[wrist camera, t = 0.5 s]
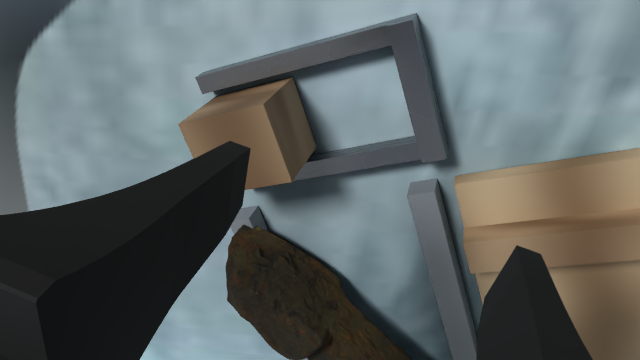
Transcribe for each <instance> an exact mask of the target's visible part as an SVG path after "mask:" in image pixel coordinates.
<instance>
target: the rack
mask: <svg viewBox="0 0 640 360" xmlns="http://www.w3.org/2000/svg"><path fill="white" fill-rule="evenodd" d="M454 187H455V191H456V195H457V199H458V204H459V208H460V212H461V216H462V220H463V225H464V237H463V246H464V250H465V254H466V258H467V262H468V266H469V270H470V274H472V273H475V275H476V279H477V283H478V287H479V291H480V296H481V300H482V304H483V302H484V297H485V296H486V294H487V293H488V291H489V289H490V288H491V286H492V284H493V283H494V281H495V280H496V278H497V276H498V275H499V273H500V271H501V270H502V268H503V267H504V265H505V263H506V262H507V260H508V258H509V257H510V255H511V254H512V252H513V250H514V249H515V247H516V245H518V246H520V247H523V248H526V249H529V250H531V251H534V252H537V253H540V254H541V255H542V257H543V260H544V262H545V264H546V266H547V268H548V271H549V273H550V275H551V278H552V280H553V282H554V284H555V287H556V289H557V291H558V293H559V295H560V298H561V300H562V302H563V304H564V306H565V308H566V310H567V312H568V314H569V316H570V318H571V320H572V323H573V324H574V326H575V328H576V330H577V332H578V334H579V336H580V338H581V340H582V342H583V343H584V345H585V347H586V349H587V350H588V352H589V354H590V356H591V357H592V359H593V360H640V148H636V149H630V150H623V151H617V152H610V153H603V154H597V155H590V156H584V157H577V158H571V159H564V160H557V161H551V162H544V163H538V164H531V165H525V166H518V167H511V168H505V169H498V170H492V171H485V172H478V173H472V174H465V175H459V176H455V181H454Z"/></svg>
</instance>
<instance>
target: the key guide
mask: <svg viewBox="0 0 640 360" xmlns="http://www.w3.org/2000/svg"><path fill="white" fill-rule="evenodd" d="M391 45H392V49H393V53H394V57H395V61H396V65H397V68H398V72H399V76H400V80H401V84H402V88H403V92H404V95H405V99H406V103H407V107H408V111H409V115H410V118H411V122H412V126H413V130H414V134H415V136H412V137H407V138H401V139H396V140H391V141H385V142H380V143H375V144H369V145H364V146H358V147H353V148H348V149H342V150H337V151H332V152H326V153H321V154H315V155H310V157H309V158H308V160H307V161H306V163H305V164H304V165H303V167H302V168H301V170H300V171H299V173H298V174H297V176H296V177H295V178H294V180H293V181H297V180H303V179H309V178H315V177H321V176H327V175H333V174H339V173H344V172H350V171H356V170H362V169H368V168H374V167H380V166H386V165H392V164H398V163H404V162H410V161H416V160H421V161H422V163H427V162H433V161H440V160H446V158H447V152H448V144H447V139H446V135H445V131H444V127H443V122H442V118H441V114H440V110H439V106H438V101H437V97H436V93H435V89H434V84H433V80H432V76H431V72H430V67H429V63H428V59H427V55H426V51H425V46H424V42H423V38H422V34H421V29H420V25H419V21H418V17H417V13H416V14H412V15H409V16H405V17H401V18H398V19H394V20H390V21H387V22H383V23H380V24H376V25H372V26H369V27H365V28H362V29H358V30H354V31H351V32H347V33H344V34H340V35H336V36H333V37H329V38H325V39H322V40H318V41H315V42H311V43H307V44H304V45H300V46H297V47H293V48H289V49H286V50H282V51H278V52H275V53H271V54H268V55H264V56H260V57H257V58H253V59H250V60H246V61H242V62H239V63H235V64H232V65H228V66H224V67H221V68H217V69H213V70H210V71H206V72H203V73H202V74H200V75H198V76H197V77H195V78H196V80H197V82H198V85H199V87H200V90H201V92H202V94H205V93H208V92H212V91H216V90H220V89H224V88H228V87H232V86H236V85H239V84H243V83H247V82H251V81H255V80H259V79H263V78H267V77H270V76H274V75H278V74H282V73H286V72H290V71H294V70H298V69H302V68H305V67H309V66H313V65H317V64H321V63H325V62H329V61H333V60H336V59H340V58H344V57H348V56H352V55H356V54H360V53H364V52H367V51H371V50H375V49H379V48H383V47H387V46H391Z"/></svg>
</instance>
